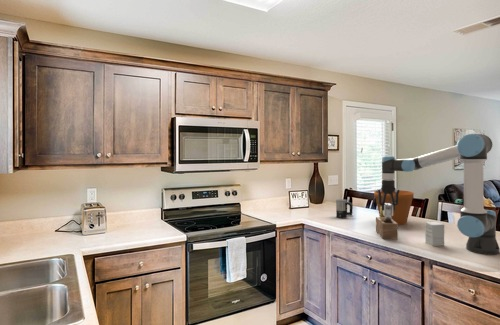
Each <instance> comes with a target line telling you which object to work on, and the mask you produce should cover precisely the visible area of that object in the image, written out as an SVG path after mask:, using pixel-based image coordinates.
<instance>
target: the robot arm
mask: <svg viewBox="0 0 500 325" xmlns="http://www.w3.org/2000/svg"><path fill="white" fill-rule="evenodd" d="M492 149H493V141H492V139H491V137H489V136H488V135H485V134H483V133H469V134H465V135H463V136H462V137H460V138H459V140H458V141H457V143H456V145H453V146H450V147H447V148H442V149H440V150H436V151H434V152H433V151H432V152H430V153H426V154H423V155H420V156H416V157H413V158H412V157H411V158H401V159H399V158H398V159H397V158H395V156H394V155H384V156H382V157H381V179H382V180H381V188H378V189H376V191H378V202H379V204H380V205H382V210H383V215H384V216H385V205H384V204H385V199H386V196H387V194H390V197H391V202H392V205H393V207H392V216H393V211H395V205H398V193H399V190H400V189H398V188H396V187H395V186H396V185H395V172H405V173H406V172H407V173H408V172H413V171H418V170H420V169H424V168H426V167H431V166H435V165H438V164H439V165H440V164H442V163H446V162H449V161H454V160H458V159H459V160H460V161H461V162H463V208H461V209H460V214H459V215H460V218H458V220H457V225H456V226H457V229H458V231H459V232H460V233H461V234H462V235H464V236H466V237H468V239H467V241H466V244H465V246H466V247H465V248H466V249H465V250H468V251H469V252H473V253H477V254H482V255H497V254H500V246H499V243H498V240H497V236H496V235H497V234H496V233H497V228H496V226H497V212H496V211H494V210H490V209H485V208H484V163H485V162H486V161H487V160H488V153H490V151H491V150H492ZM381 190H382V191H383V192H384V194H383V199H382V203H381ZM394 190H395V202H394V198H393V192H394Z"/></svg>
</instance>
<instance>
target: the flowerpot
mask: <svg viewBox="0 0 500 325" xmlns="http://www.w3.org/2000/svg"><path fill="white" fill-rule="evenodd" d="M398 190H399V193H398V205H395V211H393V216H392V220H394V221H395V222H396V223H397V224H398V226H401V225H403V226H404V225H406V224H407V222H408V219H409V214H410V210H411V207H412V202H413V200H414V198H415V197H414V192H413V191H409V190H400V189H398ZM373 194H374V195H373V196H374V198H375V202H376V206H377V210H378V215H379V216H378V217H380V207H382V205H380V204H379V202H378V191H377V190H374V192H373ZM383 194H384V192H383V191H382V190H381V203H382V199H383ZM393 198H394V202H395V190H394V192H393ZM385 203H391V204H392V202H391V197H390V194H387V196H386V199H385Z"/></svg>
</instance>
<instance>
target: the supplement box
mask: <svg viewBox="0 0 500 325" xmlns="http://www.w3.org/2000/svg"><path fill="white" fill-rule="evenodd" d="M424 225H425V226H424V227H425V229H424V230H425V236H424V237H425V244H427V245H430V246H432V247H437V246H441V245H442V246H445V224H444V223H441V222H439V221H430V222H429V221H427V222H426V221H425V224H424Z"/></svg>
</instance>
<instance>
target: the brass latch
mask: <svg viewBox="0 0 500 325" xmlns="http://www.w3.org/2000/svg"><path fill="white" fill-rule="evenodd" d="M379 217H380V219H385V216H384V215H383V210H382V207H380V216H379Z"/></svg>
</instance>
